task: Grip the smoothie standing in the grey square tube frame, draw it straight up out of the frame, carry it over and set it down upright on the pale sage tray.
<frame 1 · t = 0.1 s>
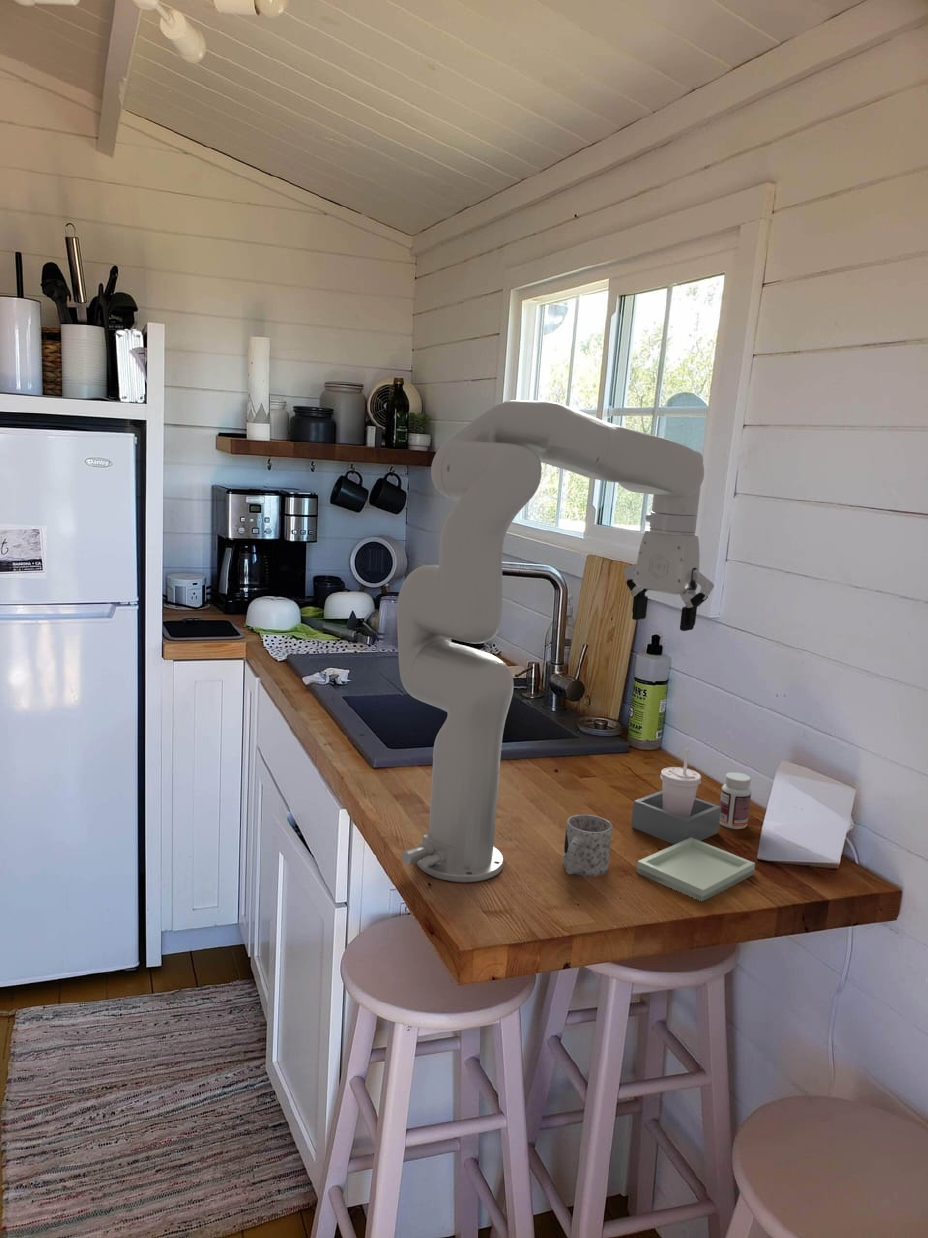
hand: (662, 624, 164), 31 cm above the worktop, tool pointing down, fingers open, 9 cm apart
tray: (695, 873, 141), on the worktop
grey square tube frame: (674, 830, 156), on the worktop
pill bottle: (732, 825, 160), on the worktop
smoothie: (674, 831, 156), resting in grey square tube frame
mug: (580, 871, 139), on the worktop
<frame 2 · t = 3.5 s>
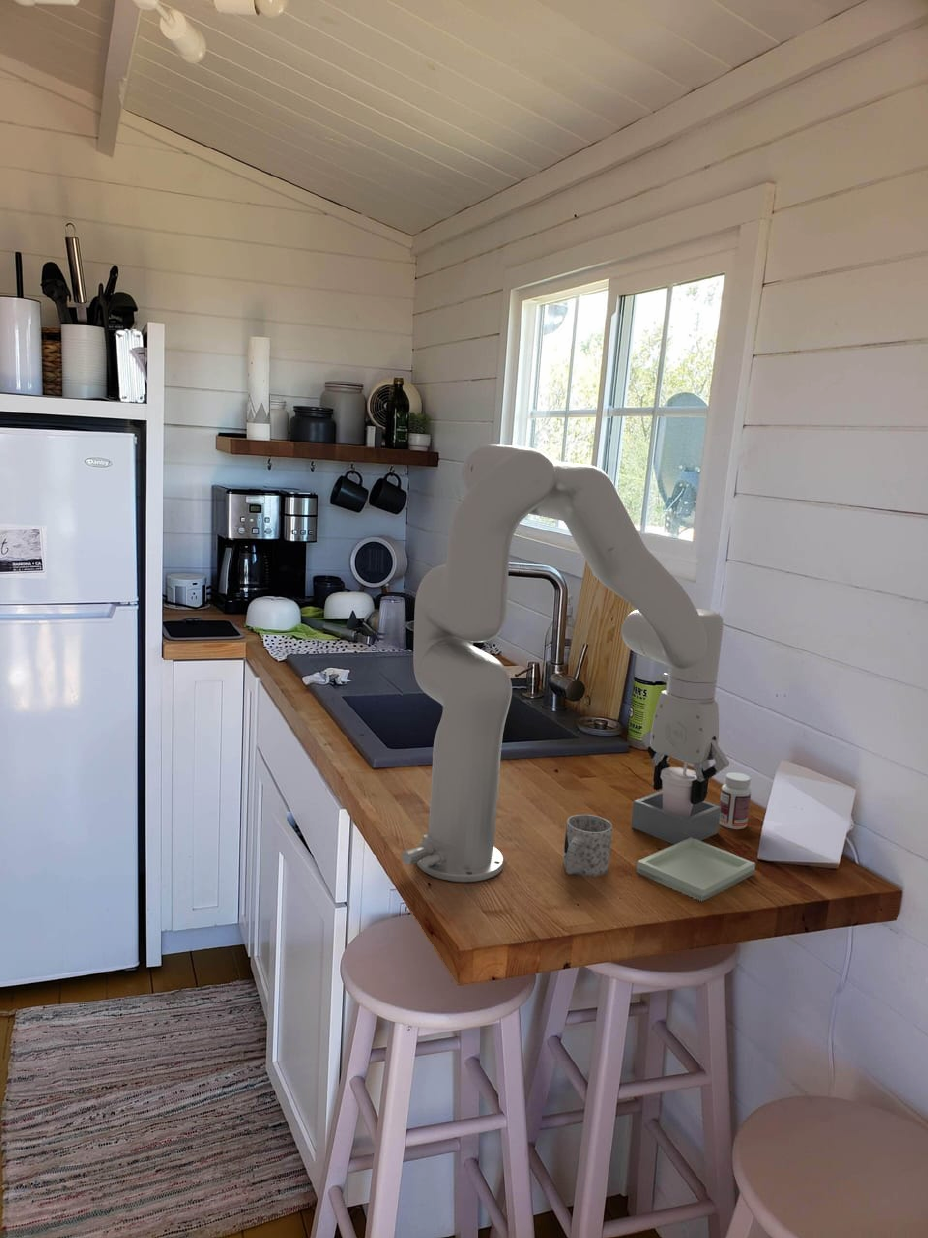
hand: (678, 794, 155), 6 cm above the worktop, tool pointing down, fingers closed on smoothie, 6 cm apart
smoothie: (674, 831, 156), resting in grey square tube frame, touching gripper
everything else where it was.
when the fingers open (8 cm above the worktop, at t = 10.8 s): smoothie stays where it is, resting on tray.
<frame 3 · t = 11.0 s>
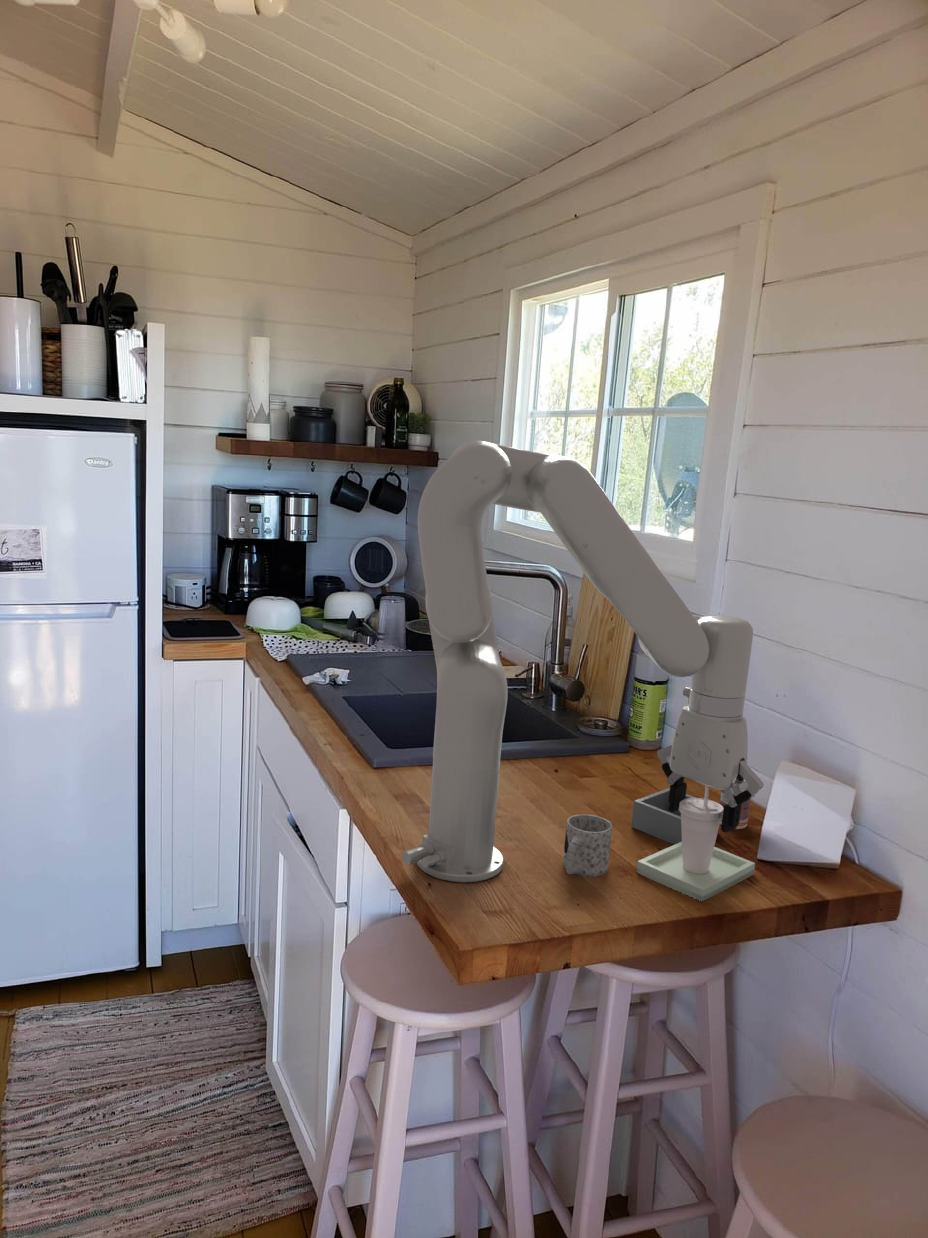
hand: (702, 819, 139), 9 cm above the worktop, tool pointing down, fingers open, 8 cm apart
smoothie: (695, 869, 141), point 1 cm above the worktop, touching tray
everything else where it was.
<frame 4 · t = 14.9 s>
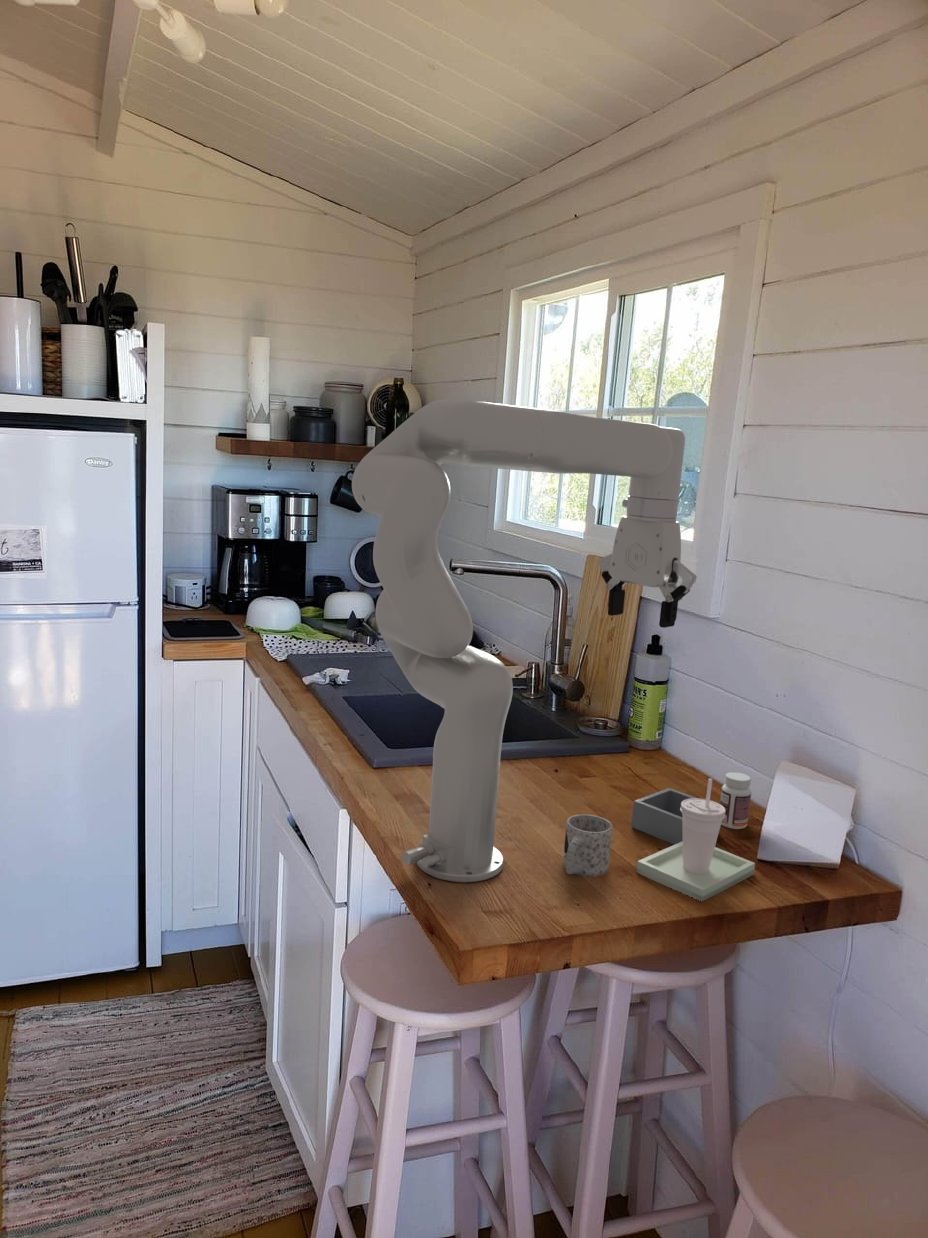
hand: (640, 620, 149), 34 cm above the worktop, tool pointing down, fingers open, 9 cm apart
nothing on the worktop moved.
at the end: smoothie inside the target area on the tray (0.1 cm from its centre), point 0.6 cm above the tray's base; smoothie tilted 0°; the gripper is holding nothing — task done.
